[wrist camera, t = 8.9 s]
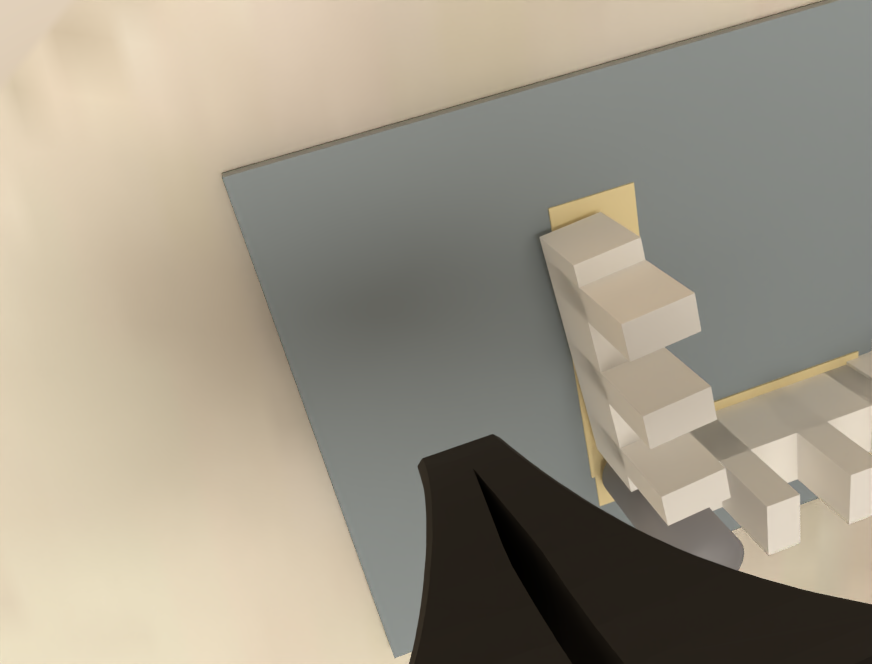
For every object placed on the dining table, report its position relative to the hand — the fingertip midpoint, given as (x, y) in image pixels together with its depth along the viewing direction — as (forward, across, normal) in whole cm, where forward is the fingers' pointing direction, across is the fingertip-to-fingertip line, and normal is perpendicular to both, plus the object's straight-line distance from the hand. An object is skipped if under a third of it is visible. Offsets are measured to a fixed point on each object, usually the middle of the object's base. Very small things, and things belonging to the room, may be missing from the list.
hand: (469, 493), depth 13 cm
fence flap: (+7, -5, +3) cm, 9 cm away
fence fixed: (+7, -10, +6) cm, 14 cm away
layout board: (+7, -6, +3) cm, 10 cm away
